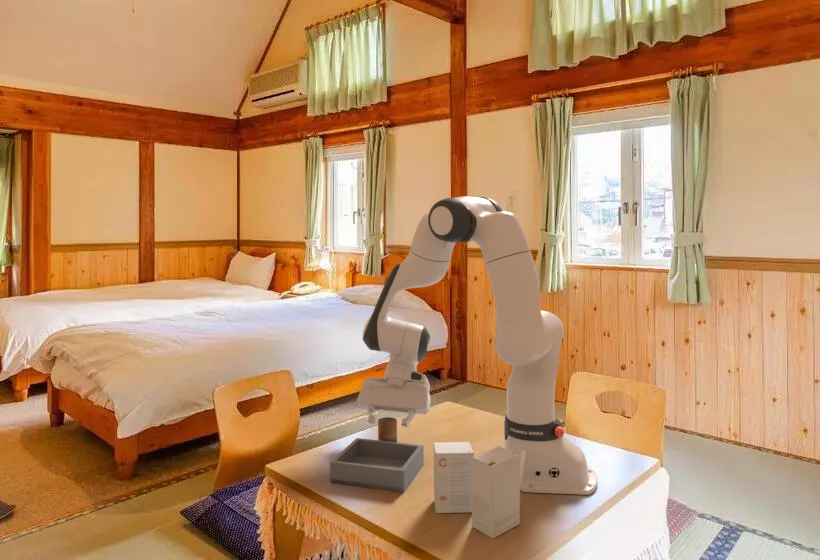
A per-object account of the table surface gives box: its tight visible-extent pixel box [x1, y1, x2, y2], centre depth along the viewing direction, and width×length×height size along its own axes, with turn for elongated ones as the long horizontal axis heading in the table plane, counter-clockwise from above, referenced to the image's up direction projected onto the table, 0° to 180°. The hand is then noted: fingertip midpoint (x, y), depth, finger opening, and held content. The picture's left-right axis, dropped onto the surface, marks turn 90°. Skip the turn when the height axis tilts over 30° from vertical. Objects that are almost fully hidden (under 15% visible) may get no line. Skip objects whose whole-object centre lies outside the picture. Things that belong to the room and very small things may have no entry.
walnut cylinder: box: [377, 416, 398, 443], centre depth 154 cm, size 5×5×8 cm
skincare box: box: [471, 446, 521, 539], centre depth 114 cm, size 8×6×15 cm
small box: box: [433, 441, 475, 514], centre depth 122 cm, size 8×6×13 cm
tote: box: [329, 437, 425, 494], centre depth 139 cm, size 18×16×5 cm
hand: (387, 424), depth 155 cm, fingers open, 8 cm apart
